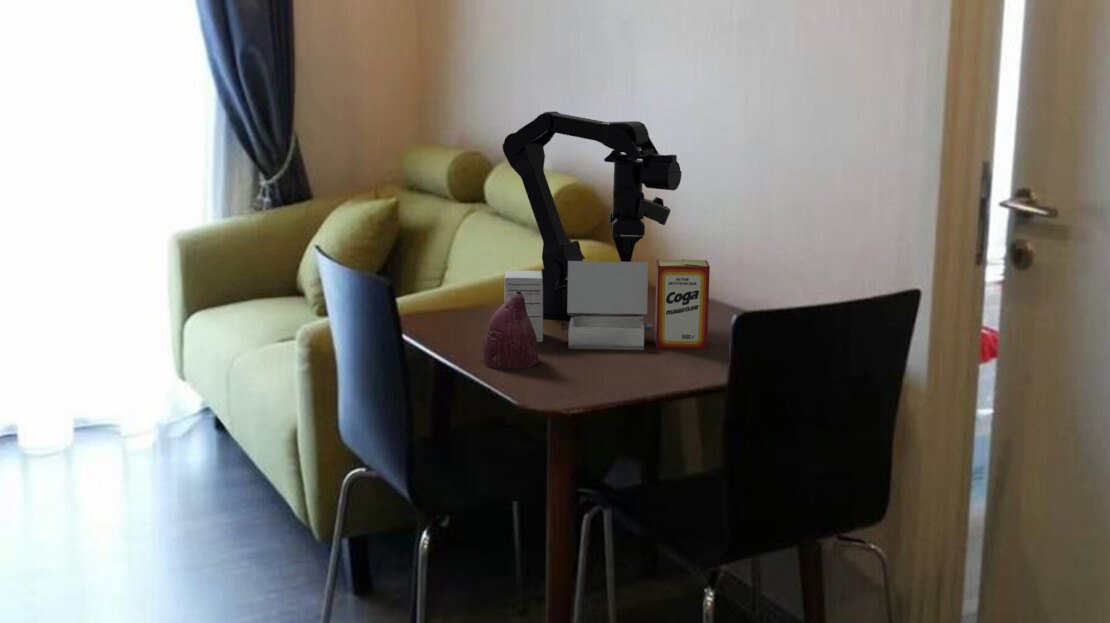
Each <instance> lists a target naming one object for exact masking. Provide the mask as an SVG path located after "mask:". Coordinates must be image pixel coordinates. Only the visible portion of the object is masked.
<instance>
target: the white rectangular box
mask: <svg viewBox="0 0 1110 623" xmlns="http://www.w3.org/2000/svg"><path fill="white" fill-rule="evenodd" d="M644 318H645V317H641V316H584V315H571V318H569V319H570V320H569V321H562V322H561V323H560V324H561V325H560V330H562V331H568V347H567V348H568V349H569V350H570V349H573V350H614V351H615V350H622V351H623V350H624V351H627V350H628V351H629V350H630V351H644V348H645V332H653V323H645V321H644Z"/></svg>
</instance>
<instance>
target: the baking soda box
mask: <svg viewBox="0 0 1110 623" xmlns="http://www.w3.org/2000/svg"><path fill="white" fill-rule="evenodd" d="M655 263H656V269H655V270H656V272H655V275H656V276H655V279H656V280H655V308H654V309H655V315H654V343H655V348H656V349H687V350H688V349H690V348H699V349H700V350H701V349H702V350H708V334H709V333H708V329H709V328H708V327H709V306H710V305H709V303H710V302H709V301H710V300H709V299H710V297H709V295H710V274H711V273H710V270H711V268H710V264H709V262H708V261H707V260H704V259H656V262H655ZM699 349H698V350H699Z"/></svg>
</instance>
